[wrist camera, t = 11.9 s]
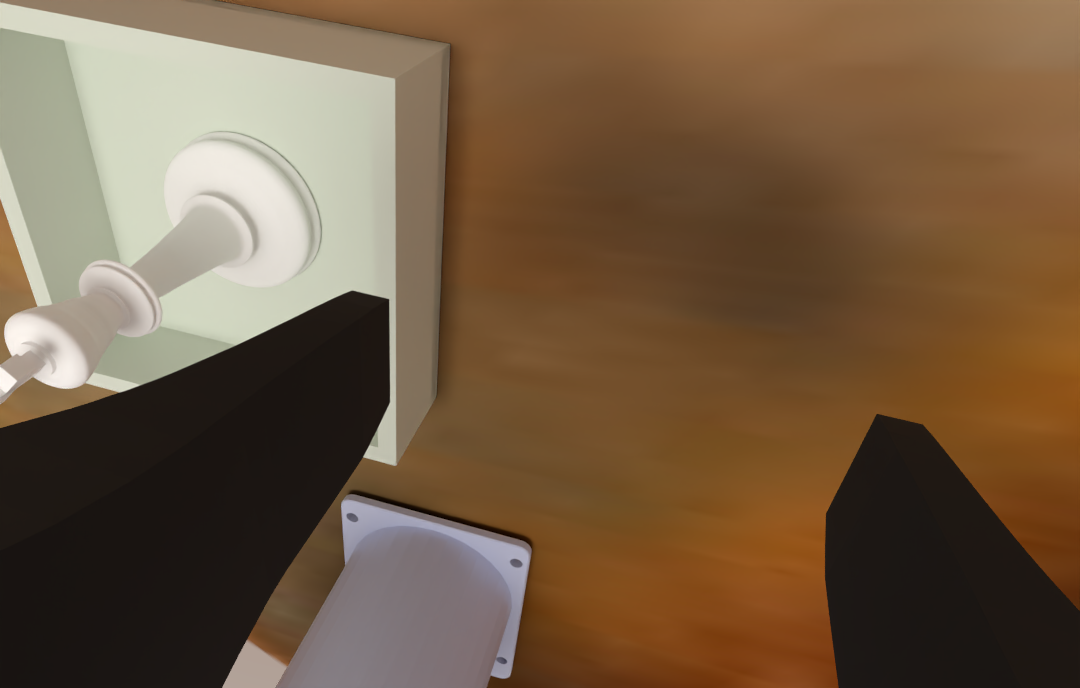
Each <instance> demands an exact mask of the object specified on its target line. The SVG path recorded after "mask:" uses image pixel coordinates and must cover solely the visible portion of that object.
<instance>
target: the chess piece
mask: <svg viewBox="0 0 1080 688" xmlns="http://www.w3.org/2000/svg"><path fill="white" fill-rule="evenodd" d="M164 199H165V205H166V209H167V212H168V215H169V218H170V220H171V223H172V225H173V227H174V229H173V230H172V231H170V232H169V233H168V234H167V235H166V236H165V237H164V238H163V239H162V240H161V241H160V242H159V243H158V244H157V245H155V246H154V247H153V248H152V249H151V250H150V251H149V252H148V253H147V254H146V255H144V256H143V257H142V258H141V259H140V260H138V261H137V262H136V263H135V264H133V265H132V266H131V267H128V266H127V265H125V264H122V263H120V262H117V261H113V260H97V261H94V262H92V263H91V264H89V265H88V266H87V268H86V269H85V271H84V272H83V273H82V275H81V277H80V280H79V291H80V295H81V297H77V298H72V299H68V300H65V301H63V302H60V303H56V304H51V305H47V306H39V307H35V308H31V309H27V310H24V311H21V312H18V313H16V314H14V315H13V316H12V317H10V318H9V320H8V321H7V323H6V325H5V330H4V335H5V341H6V345H7V347H8V349H9V351H10V353H11V355H12V356H13V357H11V358H10V359H8V360H7V361H5V362H4V363H2V364H1V365H0V404H1V403H3V402H4V401H5V400H6V399H7V398H8V397H9V396H10V395H11V394H12V393H13V392H14V390H15V389H17V388H18V387H19V386H21V385H22V384H23V383H25V382H26V381H28V380H29V379H30V378H32V377H34V378H36V379H37V380H39V381H41V382H43V383H45V384H47V385H50V386H53V387H57V388H64V389H70V388H76V387H79V386H81V385H82V384H84V383H85V382H86V381H87V380H88V379H89V378H90V377H91V375H92V374H93V372H94V371H95V369H96V367H97V366H98V364H99V361H100V359H101V357H102V355H103V353H104V352H105V350H106V349H107V347H108V346H109V345H110V344H111V342H112V341H113V339H114V337H115V335H116V333H118V334H120V335H124V336H128V337H140V336H143V335H146V334H150V333H152V332H154V331H155V330H156V329H157V328H158V327H159V326H160V324H161V321H162V307H161V303H160V300H159V298H160V297H162V296H164V295H166V294H167V293H169V292H171V291H172V290H174V289H176V288H178V287H180V286H181V285H183V284H185V283H187V282H189V281H191V280H192V279H194V278H196V277H198V276H200V275H202V274H204V273H206V272H208V271H210V270H212V271H213V272H215V273H216V274H218V275H220V276H221V277H223V278H225V279H227V280H229V281H232V282H235V283H237V284H241V285H244V286H249V287H257V288H266V287H273V286H277V285H280V284H283V283H285V282H287V281H289V280H290V279H292V278H293V277H295V276H297V275H299V274H301V273H302V272H303V271H305V270H306V269H307V268H308V267H309V266H310V264H311V263H312V261H313V260H314V258H315V256H316V254H317V252H318V249H319V244H320V237H321V227H320V219H319V214H318V210H317V207H316V204H315V202H314V199H313V197H312V195H311V193H310V191H309V189H308V187H307V186H306V184H305V182H304V181H303V179H302V178H301V177H300V175H299V174H298V173H297V171H296V170H295V169H294V168H293V167H292V166H291V165H290V164H289V163H288V162H287V161H286V160H285V159H284V158H283V157H282V156H281V155H279V154H278V153H277V152H276V151H274V150H273V149H271V148H270V147H268V146H267V145H265V144H263V143H261V142H259V141H258V140H255V139H253V138H251V137H248V136H245V135H241V134H237V133H232V132H213V133H208V134H205V135H202V136H200V137H198V138H196V139H194V140H193V141H191V142H190V143H189V144H188V145H187V146H186V147H185V148H183V149H182V150H181V151H179V152H178V153H177V154H176V155H175V157H174V158H173V159H172V161H171V162H170V164H169V166H168V169H167V171H166V175H165V180H164Z"/></svg>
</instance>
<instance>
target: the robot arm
mask: <svg viewBox="0 0 1080 688" xmlns="http://www.w3.org/2000/svg"><path fill="white" fill-rule="evenodd" d="M389 404H390V323H389V299H387V298H383V297H378V296H374V295H370V294H366V293H361V292H357V291H353V290H352V291H349V292H347V293H344V294H342V295H340V296H337V297H335V298H333V299H331V300H329V301H327V302H324V303H322V304H320V305H318V306H316V307H314V308H312V309H310V310H308V311H306V312H304V313H302V314H300V315H298V316H296V317H294V318H292V319H290V320H288V321H286V322H284V323H282V324H280V325H277V326H275V327H273V328H271V329H269V330H267V331H265V332H263V333H261V334H259V335H257V336H255V337H253V338H250V339H248V340H246V341H244V342H242V343H240V344H238V345H236V346H234V347H231V348H229V349H227V350H224V351H222V352H220V353H217V354H215V355H213V356H210V357H208V358H206V359H203V360H201V361H199V362H196V363H194V364H192V365H190V366H187V367H185V368H183V369H180V370H178V371H176V372H173V373H171V374H169V375H166V376H163V377H161V378H158V379H156V380H153V381H151V382H148V383H145V384H142V385H140V386H137V387H134V388H132V389H129V390H126V391H123V392H120V393H117V394H114V395H111V396H108V397H105V398H102V399H99V400H97V401H94V402H91V403H88V404H84V405H81V406H78V407H75V408H72V409H68V410H64V411H61V412H57V413H53V414H50V415H46V416H43V417H39V418H35V419H32V420H28V421H25V422H21V423H17V424H14V425H10V426H7V427H3V428H0V688H222V686H223V684H224V682H225V681H226V679H227V677H228V675H229V673H230V671H231V669H232V667H233V665H234V663H235V661H236V659H237V657H238V655H239V653H240V651H241V649H242V648H243V646H244V644H245V642H246V640H247V639H248V637H249V635H250V633H251V631H252V629H253V627H254V626H255V624H256V622H257V620H258V618H259V616H260V614H261V613H262V611H263V609H264V607H265V605H266V603H267V601H268V600H269V598H270V596H271V594H272V593H273V591H274V590H275V588H276V586H277V585H278V583H279V582H280V580H281V578H282V577H283V575H284V573H285V572H286V570H287V569H288V567H289V566H290V564H291V563H292V561H293V560H294V558H295V557H296V556H297V554H298V553H299V551H300V550H301V548H302V547H303V545H304V544H305V542H306V541H307V539H308V538H309V536H310V535H311V534H312V532H313V531H314V529H315V528H316V526H317V525H318V523H319V522H320V520H321V519H322V517H323V516H324V514H325V513H326V512H327V510H328V509H329V507H330V506H331V504H332V503H333V501H334V500H335V498H336V497H337V495H338V494H339V492H340V491H341V489H342V488H343V486H344V485H345V483H346V482H347V480H348V479H349V477H350V476H351V474H352V473H353V472H354V470H355V469H356V467H357V465H358V464H359V462H360V461H361V459H362V458H363V456H364V455H365V453H366V451H367V449H368V447H369V445H370V443H371V441H372V439H373V437H374V435H375V433H376V431H377V429H378V427H379V425H380V423H381V421H382V419H383V416H384V414H385V412H386V410H387V408H388V406H389ZM341 512H342V527H343V541H344V556H345V567H344V569H343V571H342V572H341V574H340V576H339V578H338V579H337V581H336V583H335V585H334V586H333V588H332V590H331V592H330V593H329V595H328V597H327V599H326V600H325V602H324V604H323V606H322V607H321V609H320V611H319V613H318V614H317V616H316V618H315V620H314V621H313V623H312V625H311V627H310V628H309V630H308V632H307V634H306V635H305V637H304V639H303V641H302V642H301V644H300V646H299V648H298V649H297V651H296V653H295V655H294V656H293V658H292V660H291V661H290V663H289V665H288V667H287V668H286V670H285V672H284V674H283V675H282V677H281V679H280V681H279V682H278V684H277V686H276V688H487V685H488V682H489V679H490V676H495V677H498V678H508V677H509V676H510V675H511V671H512V668H513V662H514V656H515V649H516V643H517V637H518V631H519V625H520V619H521V613H522V607H523V601H524V595H525V589H526V583H527V577H528V571H529V565H530V559H531V553H532V550H531V547H530V546H529V544H527V543H526V542H524V541H522V540H519V539H515V538H512V537H508V536H504V535H501V534H497V533H493V532H490V531H486V530H482V529H479V528H475V527H471V526H468V525H464V524H461V523H457V522H453V521H450V520H446V519H442V518H439V517H435V516H431V515H428V514H424V513H421V512H417V511H413V510H410V509H406V508H402V507H399V506H395V505H391V504H388V503H384V502H380V501H377V500H373V499H370V498H366V497H362V496H359V495H354V494H350V495H347V496H346V497H345V498H344V500H343V501H342V503H341ZM825 581H826V590H827V599H828V607H829V615H830V624H831V632H832V640H833V647H834V655H835V663H836V670H837V678H838V686H839V688H1080V611H1079V610H1078V609H1077V608H1076V607H1075V606H1074V605H1073V603H1072V602H1071V601H1070V600H1069V599H1068V598H1067V597H1066V596H1065V595H1064V594H1063V593H1062V591H1061V590H1060V589H1059V588H1058V587H1057V586H1056V585H1055V584H1054V583H1053V582H1052V580H1051V579H1050V578H1049V577H1048V576H1047V575H1046V574H1045V573H1044V571H1043V570H1042V569H1041V568H1040V567H1039V566H1038V564H1037V563H1036V562H1035V561H1034V560H1033V559H1032V558H1031V556H1030V555H1029V554H1028V553H1027V552H1026V551H1025V549H1024V548H1023V547H1022V546H1021V545H1020V543H1019V542H1018V541H1017V540H1016V539H1015V537H1014V536H1013V535H1012V534H1011V533H1010V531H1009V530H1008V529H1007V528H1006V527H1005V525H1004V524H1003V523H1002V522H1001V520H1000V519H999V518H998V517H997V516H996V514H995V513H994V512H993V511H992V509H991V508H990V507H989V506H988V504H987V503H986V502H985V501H984V499H983V498H982V497H981V496H980V494H979V493H978V492H977V491H976V489H975V488H974V487H973V486H972V484H971V483H970V482H969V481H968V479H967V478H966V477H965V476H964V474H963V473H962V472H961V471H960V469H959V468H958V467H957V465H956V464H955V463H954V462H953V460H952V459H951V458H950V457H949V455H948V454H947V453H946V452H945V450H944V449H943V448H942V447H941V446H940V444H939V443H938V442H937V441H936V439H935V438H934V437H933V436H932V435H931V434H930V432H929V431H928V430H927V429H926V428H925V427H924V426H923V425H922V424H918V423H913V422H909V421H905V420H901V419H896V418H892V417H888V416H884V415H879V414H877V415H876V417H875V419H874V421H873V423H872V425H871V427H870V429H869V430H868V432H867V434H866V436H865V438H864V440H863V442H862V444H861V446H860V448H859V450H858V452H857V454H856V456H855V458H854V460H853V462H852V464H851V466H850V468H849V470H848V472H847V474H846V476H845V478H844V480H843V482H842V483H841V485H840V487H839V489H838V491H837V493H836V495H835V497H834V499H833V501H832V503H831V505H830V507H829V509H828V511H827V513H826V538H825Z"/></svg>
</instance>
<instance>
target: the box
mask: <svg viewBox="0 0 1080 688" xmlns="http://www.w3.org/2000/svg"><path fill="white" fill-rule="evenodd" d="M449 66H450V44H449V43H443V42H438V41H432V40H427V39H421V38H416V37H411V36H405V35H400V34H394V33H389V32H384V31H378V30H373V29H367V28H362V27H356V26H351V25H346V24H340V23H335V22H329V21H324V20H319V19H313V18H308V17H302V16H297V15H291V14H286V13H281V12H275V11H270V10H264V9H259V8H253V7H248V6H243V5H237V4H232V3H226V2H221V1H216V0H0V199H1V202H2V204H3V207H4V210H5V213H6V216H7V219H8V222H9V225H10V228H11V230H12V233H13V236H14V239H15V242H16V245H17V248H18V251H19V254H20V257H21V259H22V262H23V265H24V268H25V271H26V274H27V277H28V280H29V283H30V286H31V288H32V291H33V294H34V297H35V300H36V303H37V306H38V307H39V306H47V305H51V304H56V303H60V302H63V301H65V300H68V299H72V298H77V297H81V295H80V291H79V280H80V277H81V275H82V273H83V272H84V271H85V269H86V268H87V266H88V265H89V264H91V263H92V262H94V261H97V260H113V261H117V262H120V263H122V264H125V265H127V266H128V267H131V266H132V265H133V264H135V263H136V262H137V261H138V260H140V259H141V258H142V257H143V256H144V255H146V254H147V253H148V252H149V251H150V250H151V249H152V248H153V247H154V246H155V245H157V244H158V243H159V242H160V241H161V240H162V239H163V238H164V237H165V236H166V235H167V234H168V233H169V232H170V231H172V230H173V229H174V227H173V225H172V223H171V220H170V218H169V215H168V212H167V209H166V205H165V199H164V180H165V175H166V171H167V169H168V166H169V164H170V162H171V161H172V159H173V158H174V157H175V155H176V154H177V153H178V152H179V151H181V150H182V149H183V148H185V147H186V146H187V145H188V144H189V143H190V142H191V141H193V140H194V139H196V138H198V137H200V136H202V135H205V134H208V133H213V132H232V133H237V134H241V135H245V136H248V137H251V138H253V139H255V140H258V141H259V142H261V143H263V144H265V145H267V146H268V147H270V148H271V149H273V150H274V151H276V152H277V153H278V154H279V155H281V156H282V157H283V158H284V159H285V160H286V161H287V162H288V163H289V164H290V165H291V166H292V167H293V168H294V169H295V170H296V171H297V173H298V174H299V175H300V177H301V178H302V179H303V181H304V182H305V184H306V186H307V187H308V189H309V191H310V193H311V195H312V197H313V199H314V202H315V204H316V207H317V210H318V214H319V219H320V227H321V237H320V244H319V249H318V252H317V254H316V256H315V258H314V260H313V261H312V263H311V264H310V266H309V267H308V268H307V269H306V270H305V271H303V272H302V273H301V274H299V275H297V276H295V277H293V278H292V279H290V280H289V281H287V282H285V283H283V284H280V285H277V286H273V287H266V288H257V287H249V286H244V285H241V284H237V283H235V282H232V281H229V280H227V279H225V278H223V277H221V276H220V275H218V274H216V273H215V272H213V271H212V270H210V271H208V272H206V273H204V274H202V275H200V276H198V277H196V278H194V279H192V280H191V281H189V282H187V283H185V284H183V285H181V286H180V287H178V288H176V289H174V290H172V291H171V292H169V293H167V294H166V295H164V296H162V297H160V298H159V300H160V303H161V307H162V321H161V324H160V326H159V327H158V328H157V329H156V330H155V331H154V332H152V333H150V334H146V335H143V336H140V337H128V336H124V335H120V334H118V333H116V335H115V337H114V339H113V341H112V342H111V344H110V345H109V346H108V347H107V349H106V350H105V352H104V353H103V355H102V357H101V359H100V361H99V364H98V366H97V367H96V369H95V371H94V372H93V374H92V375H91V377H90V378H89V379H88V380H87V381H86V382H85V383H87V384H91V385H95V386H99V387H102V388H106V389H110V390H114V391H117V392H123V391H126V390H129V389H132V388H134V387H137V386H140V385H142V384H145V383H148V382H151V381H153V380H156V379H158V378H161V377H163V376H166V375H169V374H171V373H173V372H176V371H178V370H180V369H183V368H185V367H187V366H190V365H192V364H194V363H196V362H199V361H201V360H203V359H206V358H208V357H210V356H213V355H215V354H217V353H220V352H222V351H224V350H227V349H229V348H231V347H234V346H236V345H238V344H240V343H242V342H244V341H246V340H248V339H250V338H253V337H255V336H257V335H259V334H261V333H263V332H265V331H267V330H269V329H271V328H273V327H275V326H277V325H280V324H282V323H284V322H286V321H288V320H290V319H292V318H294V317H296V316H298V315H300V314H302V313H304V312H306V311H308V310H310V309H312V308H314V307H316V306H318V305H320V304H322V303H324V302H327V301H329V300H331V299H333V298H335V297H337V296H340V295H342V294H344V293H347V292H349V291H352V290H353V291H357V292H361V293H366V294H370V295H374V296H378V297H383V298H387V299H389V323H390V404H389V406H388V408H387V410H386V412H385V414H384V416H383V419H382V421H381V423H380V425H379V427H378V429H377V431H376V433H375V435H374V437H373V439H372V441H371V443H370V445H369V447H368V449H367V451H366V453H365V455H364V456H363V457H364V458H368V459H372V460H376V461H379V462H383V463H387V464H391V465H394V466H397V464H398V462H399V460H400V459H401V457H402V455H403V454H404V452H405V450H406V448H407V447H408V445H409V443H410V442H411V440H412V438H413V436H414V435H415V433H416V431H417V429H418V428H419V426H420V424H421V423H422V421H423V419H424V417H425V416H426V414H427V412H428V411H429V409H430V407H431V405H432V404H433V402H434V400H435V399H436V395H437V370H438V344H439V319H440V294H441V268H442V243H443V218H444V193H445V167H446V142H447V117H448V91H449Z"/></svg>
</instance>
